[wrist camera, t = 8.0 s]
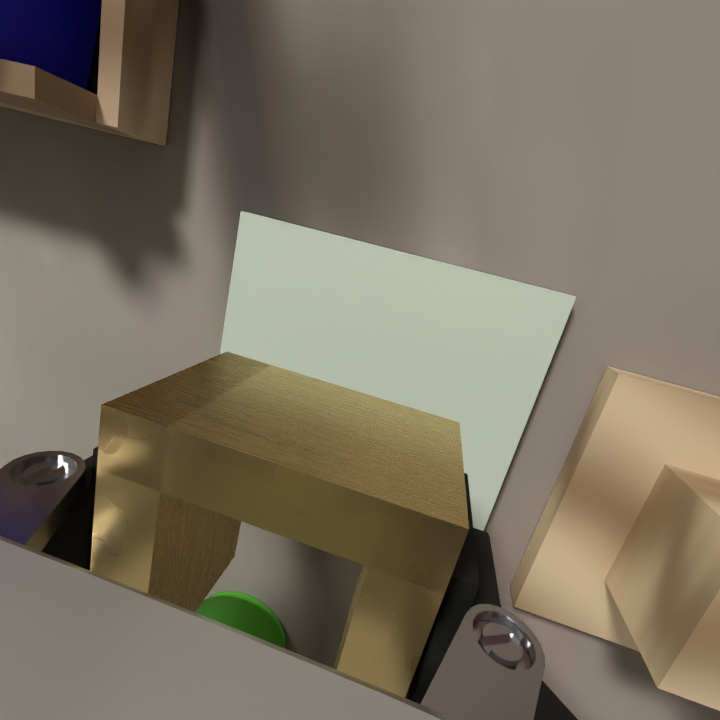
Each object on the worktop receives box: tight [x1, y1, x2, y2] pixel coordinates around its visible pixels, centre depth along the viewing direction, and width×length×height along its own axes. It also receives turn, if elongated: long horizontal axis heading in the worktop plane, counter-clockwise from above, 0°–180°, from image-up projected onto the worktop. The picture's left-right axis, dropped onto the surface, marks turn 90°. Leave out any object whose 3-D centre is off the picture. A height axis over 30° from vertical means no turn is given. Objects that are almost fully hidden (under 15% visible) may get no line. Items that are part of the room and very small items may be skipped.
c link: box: [90, 352, 469, 698], centre depth 9 cm, size 6×6×4 cm
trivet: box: [220, 211, 576, 531], centre depth 16 cm, size 12×12×1 cm
